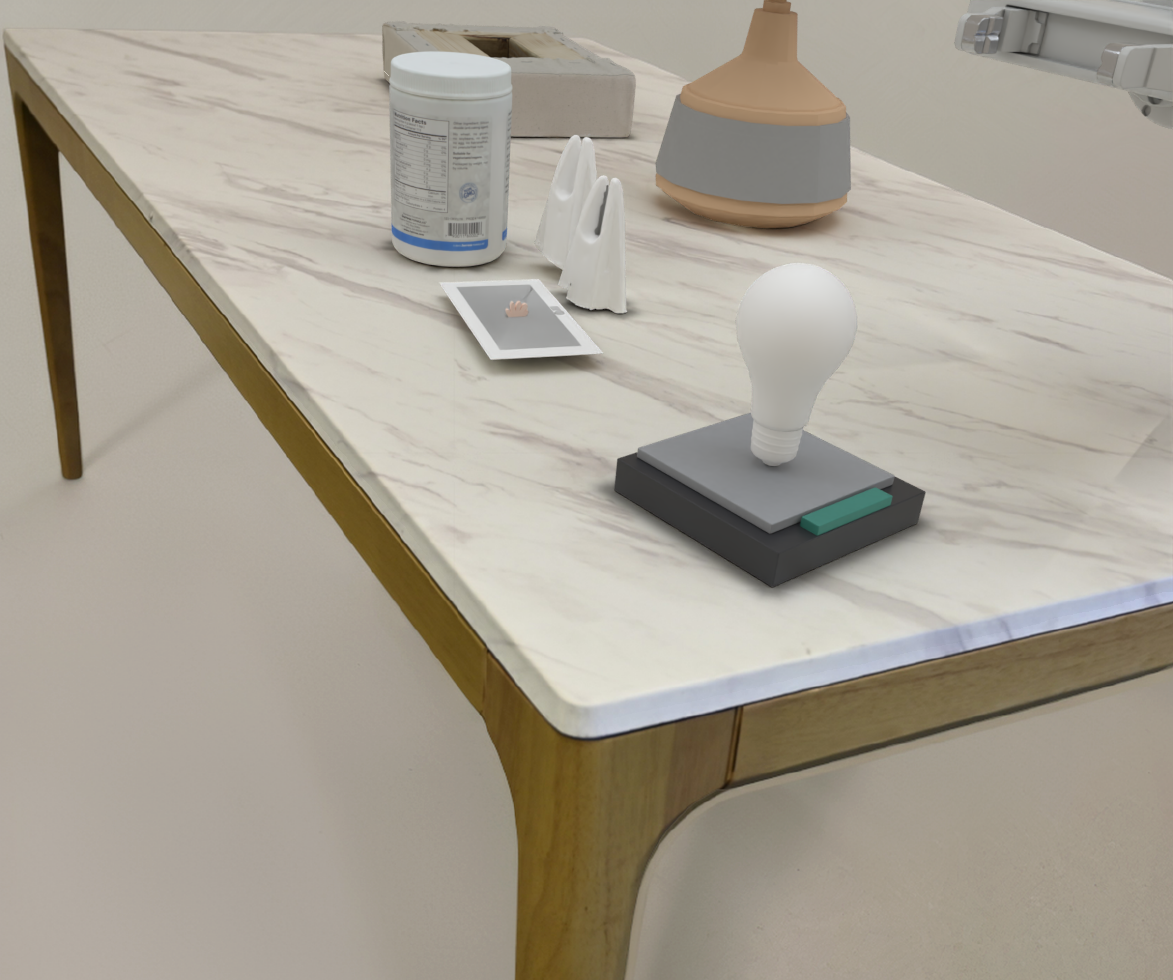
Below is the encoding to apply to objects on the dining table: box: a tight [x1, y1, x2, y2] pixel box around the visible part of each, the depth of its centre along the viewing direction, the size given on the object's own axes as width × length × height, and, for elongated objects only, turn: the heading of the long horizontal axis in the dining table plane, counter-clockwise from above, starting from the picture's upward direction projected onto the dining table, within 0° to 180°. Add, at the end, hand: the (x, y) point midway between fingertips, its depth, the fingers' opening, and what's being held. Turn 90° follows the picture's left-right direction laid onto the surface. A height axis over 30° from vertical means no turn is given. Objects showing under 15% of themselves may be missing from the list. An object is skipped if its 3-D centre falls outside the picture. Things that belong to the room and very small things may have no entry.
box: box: [381, 20, 637, 139], centre depth 149 cm, size 23×8×32 cm
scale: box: [613, 412, 927, 588], centre depth 67 cm, size 12×12×3 cm
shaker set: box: [533, 135, 628, 314], centre depth 93 cm, size 12×4×11 cm, turn 19°
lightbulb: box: [735, 262, 858, 466], centre depth 64 cm, size 6×6×11 cm
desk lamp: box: [654, 0, 852, 229], centre depth 110 cm, size 22×19×37 cm
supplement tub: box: [388, 51, 512, 268], centre depth 97 cm, size 10×10×15 cm
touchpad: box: [438, 278, 604, 361], centre depth 87 cm, size 8×15×2 cm, turn 19°
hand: (1034, 49), depth 61 cm, fingers open, 8 cm apart
